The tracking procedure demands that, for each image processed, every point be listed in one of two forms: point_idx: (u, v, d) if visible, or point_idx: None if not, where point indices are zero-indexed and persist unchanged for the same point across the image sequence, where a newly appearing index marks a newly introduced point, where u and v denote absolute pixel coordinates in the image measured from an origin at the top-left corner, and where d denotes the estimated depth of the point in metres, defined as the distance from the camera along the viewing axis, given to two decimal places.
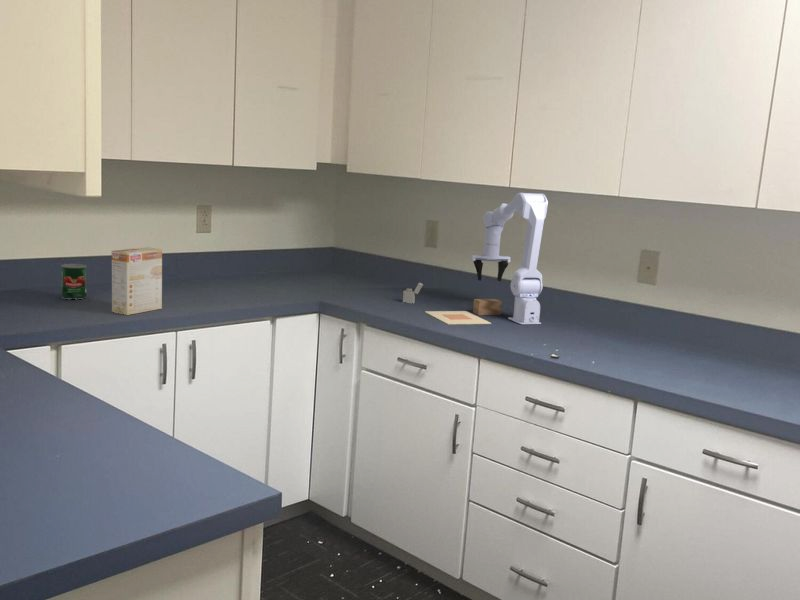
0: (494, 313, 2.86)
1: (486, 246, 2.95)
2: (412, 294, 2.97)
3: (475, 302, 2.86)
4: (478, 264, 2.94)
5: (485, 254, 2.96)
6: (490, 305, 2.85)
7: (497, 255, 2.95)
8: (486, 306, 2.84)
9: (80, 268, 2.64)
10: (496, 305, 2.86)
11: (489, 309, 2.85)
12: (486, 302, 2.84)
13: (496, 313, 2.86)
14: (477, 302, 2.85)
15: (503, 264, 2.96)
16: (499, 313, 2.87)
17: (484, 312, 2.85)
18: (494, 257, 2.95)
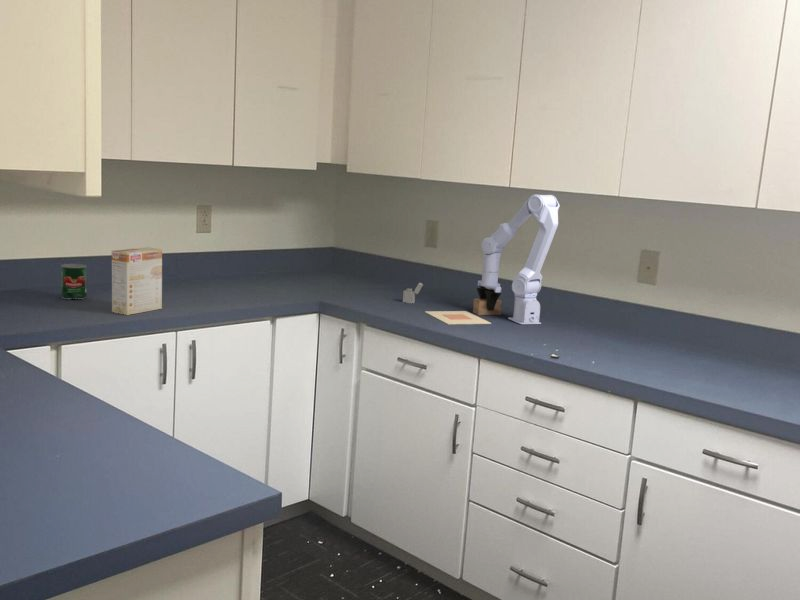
0: (494, 313, 2.86)
1: None
2: (412, 294, 2.97)
3: (475, 302, 2.86)
4: (477, 290, 2.89)
5: None
6: None
7: (486, 282, 2.83)
8: (486, 306, 2.84)
9: (80, 268, 2.64)
10: (496, 305, 2.86)
11: None
12: (486, 302, 2.84)
13: (496, 313, 2.86)
14: (477, 302, 2.85)
15: (485, 292, 2.83)
16: (499, 313, 2.87)
17: (484, 311, 2.85)
18: (482, 284, 2.84)
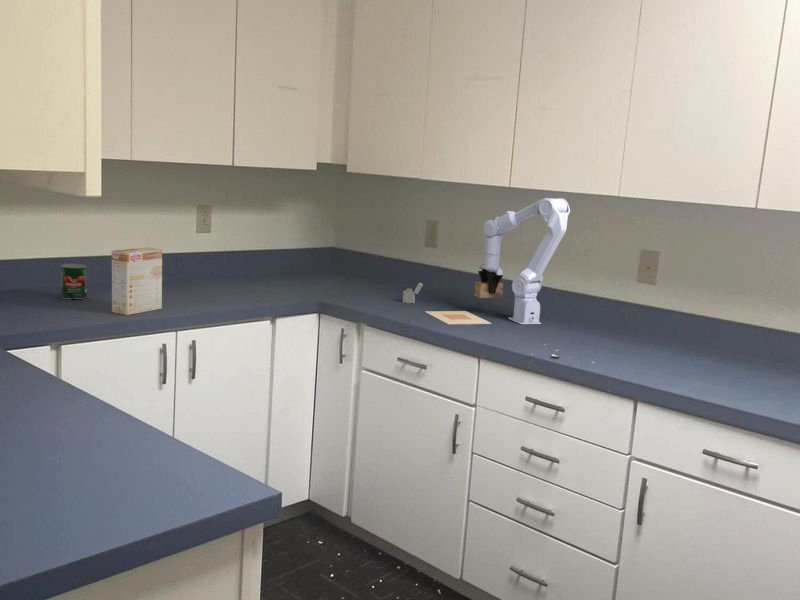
0: (495, 296, 2.85)
1: None
2: (412, 294, 2.97)
3: (476, 285, 2.85)
4: None
5: None
6: None
7: (487, 265, 2.82)
8: (487, 289, 2.83)
9: (80, 268, 2.64)
10: (497, 288, 2.85)
11: None
12: (487, 285, 2.83)
13: (497, 296, 2.85)
14: (478, 285, 2.83)
15: (487, 275, 2.82)
16: (500, 296, 2.86)
17: (485, 294, 2.83)
18: (484, 267, 2.83)
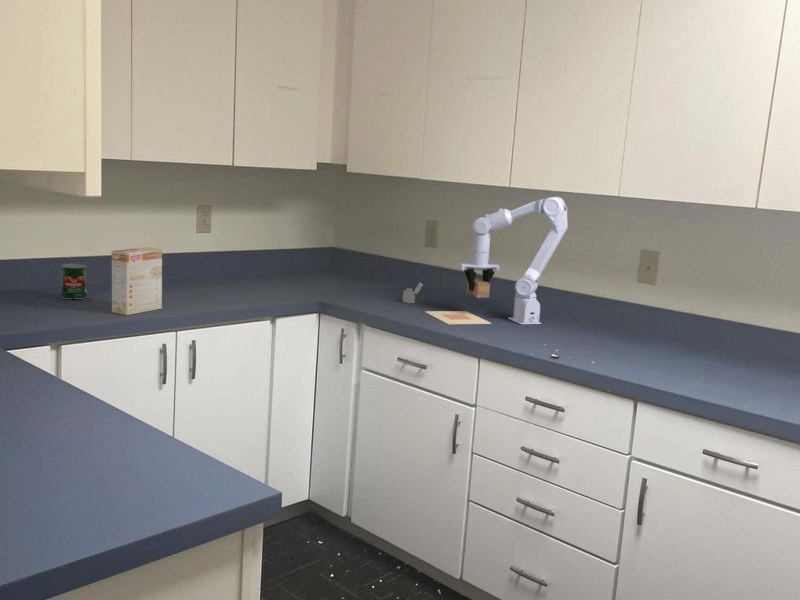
0: None
1: (475, 254, 2.77)
2: (412, 294, 2.97)
3: (481, 286, 2.76)
4: (471, 274, 2.76)
5: (474, 263, 2.78)
6: None
7: (487, 263, 2.78)
8: None
9: (80, 268, 2.64)
10: None
11: None
12: None
13: None
14: (485, 285, 2.77)
15: (490, 273, 2.79)
16: None
17: None
18: (484, 266, 2.77)
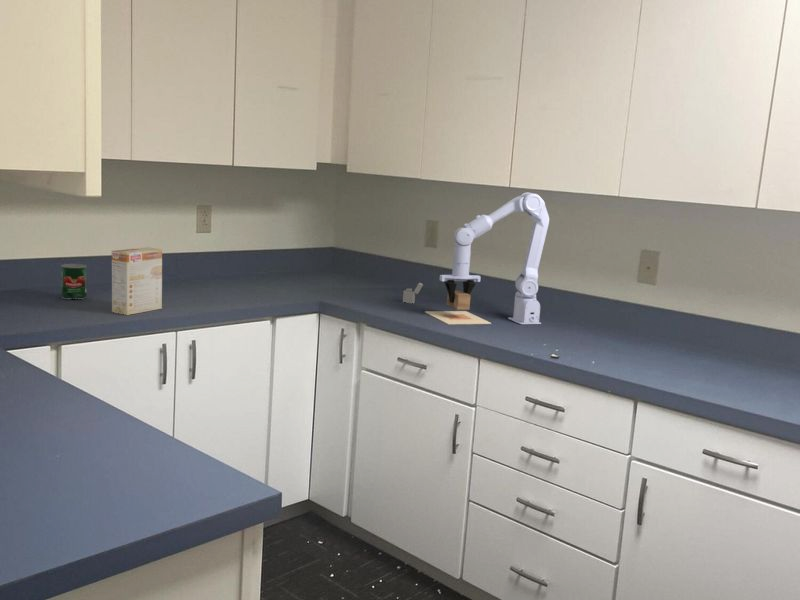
0: None
1: (456, 265, 2.71)
2: (412, 294, 2.97)
3: (462, 297, 2.70)
4: (451, 285, 2.70)
5: (455, 274, 2.71)
6: None
7: (467, 275, 2.72)
8: None
9: (80, 268, 2.64)
10: None
11: None
12: None
13: None
14: (466, 296, 2.70)
15: (470, 284, 2.72)
16: None
17: None
18: (465, 277, 2.71)
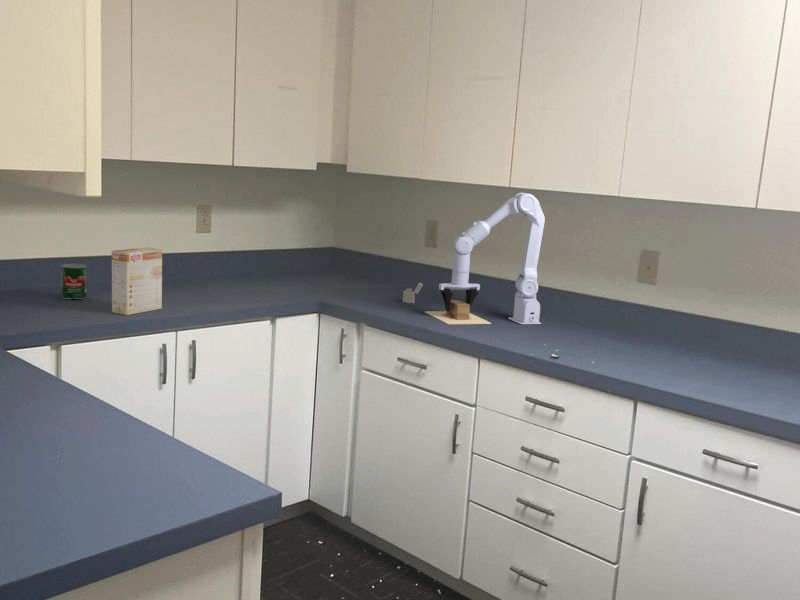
0: None
1: (455, 274, 2.71)
2: (412, 294, 2.97)
3: (461, 307, 2.71)
4: (447, 294, 2.70)
5: (454, 282, 2.72)
6: None
7: (467, 283, 2.72)
8: None
9: (80, 268, 2.64)
10: None
11: None
12: None
13: None
14: (465, 306, 2.71)
15: (473, 293, 2.73)
16: None
17: None
18: (464, 286, 2.71)
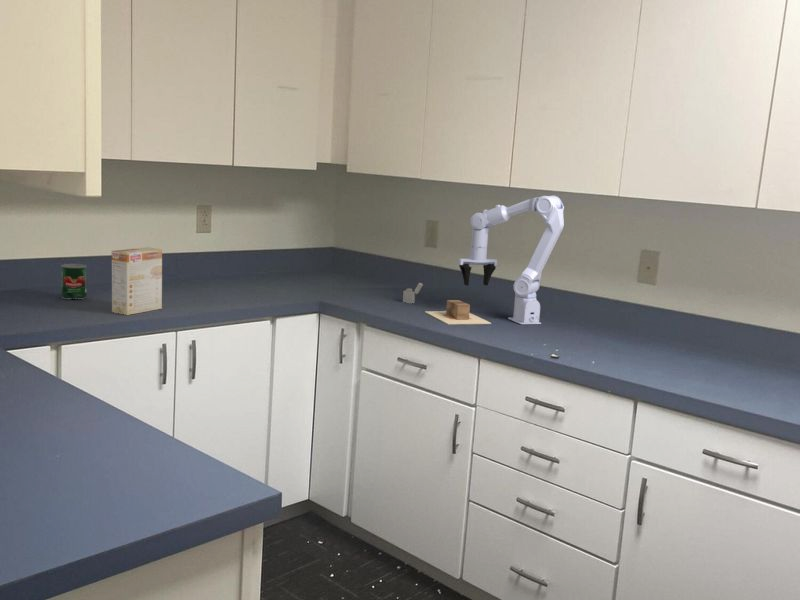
0: None
1: (474, 249, 2.80)
2: (412, 294, 2.97)
3: (461, 307, 2.71)
4: (466, 268, 2.79)
5: (473, 258, 2.81)
6: None
7: (485, 258, 2.81)
8: None
9: (80, 268, 2.64)
10: None
11: None
12: None
13: None
14: (465, 306, 2.71)
15: (491, 268, 2.82)
16: None
17: None
18: (482, 260, 2.80)
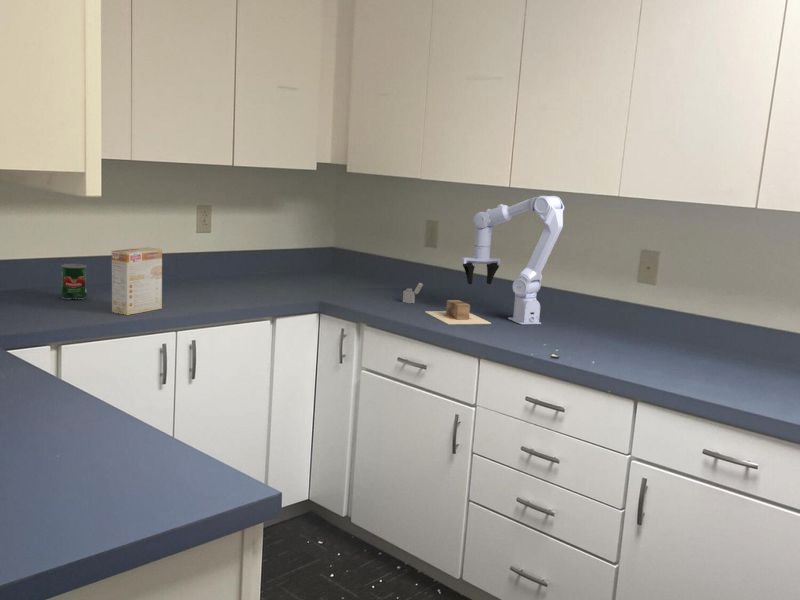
0: None
1: (477, 248, 2.82)
2: (412, 294, 2.97)
3: (461, 307, 2.71)
4: (470, 267, 2.81)
5: (476, 256, 2.83)
6: None
7: (488, 257, 2.83)
8: None
9: (80, 268, 2.64)
10: None
11: None
12: None
13: None
14: (465, 306, 2.71)
15: (494, 266, 2.84)
16: None
17: None
18: (486, 259, 2.82)
